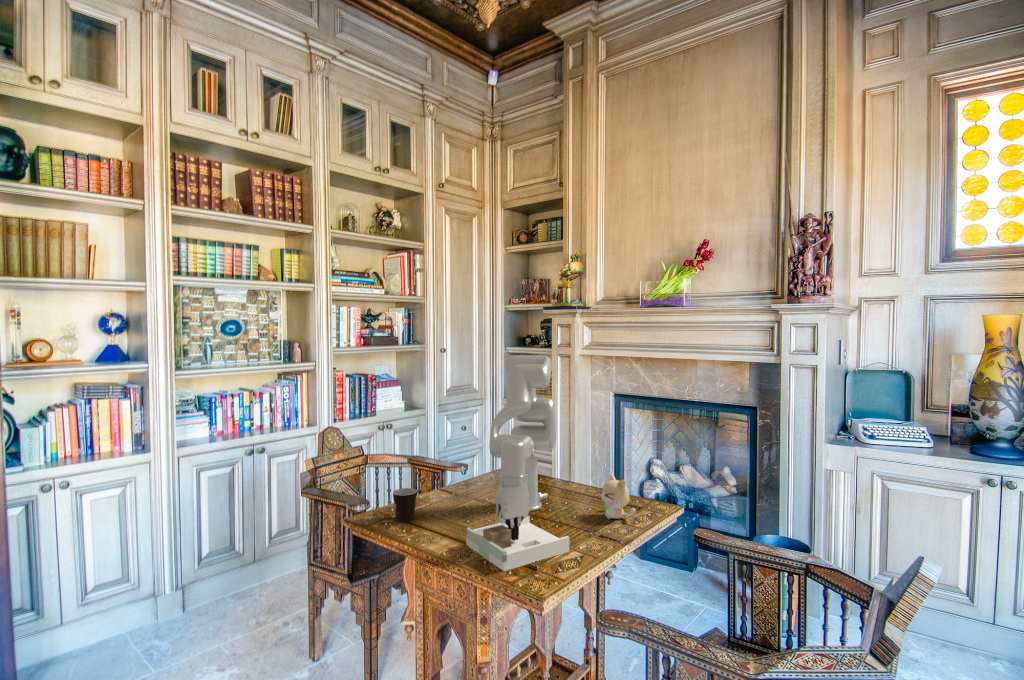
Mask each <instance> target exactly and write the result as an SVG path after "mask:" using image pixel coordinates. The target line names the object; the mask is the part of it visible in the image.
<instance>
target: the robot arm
mask: <svg viewBox="0 0 1024 680" xmlns="http://www.w3.org/2000/svg"><path fill="white" fill-rule="evenodd" d="M552 366H553V365H552V359H551V358H550V357H549V356H548V355H542V354H541V355H539V354H538V355H536V354H535V355H534V354H533V355H530V354H529V355H526V354H524V355H523V354H519V355H518V354H517V355H516V354H515V355H509V356H508V357H506V358H505V360H504V368H505V371H506V373H507V384H506V386H507V387H506V400H505V402H506V403H505V406H504V407H502V409H500V411H498V413H497V414H496V415H495V417H494V419H493V420H492V423H491V427H490V432H489V433H490V434H489V435H490V436H489V453H490V455H491V456H492V457H494V458H498V459H500V474H501V475H500V479H501V480H500V481H501V482H500V484H498V487H497V493H496V501H495V502H496V503H495V515H496V516H497V517H498V518H497V522H498V523H505V524H506V525H507V526H508V528H509V529H510V530H511V539H512V540H513V541H515V540H518V535H519V526H520V525H521V522H522V520H523V519H525V518H526V517H529V513H530V512H531V511H532V512H533V511H536V510H540V509H541V508H542V506H543V504H542V503H543V502H541V500H544V499H547V498H548V497H549V495H548V493H546V492H544V493H541V492H538V491H539V488H538V485H539V484H538V477H539V476H538V475H539V474H538V472H539V471H538V469H539V468H538V459H537V457H536V455H535V454H534V451H551V450H553V449H554V448H555V447H556V444H557V426H556V425H557V421H556V420H557V419H556V418H557V415H556V414H557V413H556V405H555V402H554V400H553V399H552V398H550V397H542V396H541V397H538V396H537V394H536V392H537V391H536V389H547V388H548V387H549V385H550V382H551V378H552V377H551V376H552V369H553V367H552ZM514 418H515V420H517V421H518V422H522V423H542V424H517V425H515V426H513V427H512V429H511V431H510V434H503V433H502V434H501V433H500V432H501V431H500V430H501V428H502V427H503V426H504V424H505V423H507V422H509V421H510V420H512V419H514Z"/></svg>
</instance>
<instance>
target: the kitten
mask: <svg viewBox="0 0 1024 680" xmlns="http://www.w3.org/2000/svg"><path fill="white" fill-rule="evenodd" d="M600 497H601V500H602V502H603V512H604V511H605V514H604V516H605V518H607V519H608V520H610V519H613V520H615V519H618V520H619V519H622V518H628V517H631V516H633V515H634V514H636V508H634V507H631V508H630V510H629V511H628V512H625V511H624V509H623V508H624V507H626V506H627V504H629V502H630V492H629V488H628V487H627V485H626V480H625V479H622V480H619V479H616V477H615V475H614V473H613V472H611V473H610V475H609V480H608V481H606V482H605V483H604V484H603V486H602V487H601V490H600Z"/></svg>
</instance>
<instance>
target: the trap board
mask: <svg viewBox="0 0 1024 680" xmlns="http://www.w3.org/2000/svg"><path fill="white" fill-rule="evenodd" d="M530 521H531V519H530V516H528V517H526V518H525V519H523V520H522V522H521V525H520V526H519V535H518V540H515V541H513V540H512V539H511V547H507V548H503V549H502V548H501V547H499V546H498V545H496V544H494V543H493V542H491V541H490V540H488V539H487V538H485V537H483V530H484V529H488V528H492V527H496V526H500V525H503V526H505V527H507V528H508V526H507V525H506V524H505V523H499V522H498V523H495V524H490V525H487V526H482V527H479V528H474V529H473V528H471V527H466V529H465V530H466V532H465V534H466V537H465V539H466V546H467V547H468V546H469V547H468V548H470V549H471V550H472V549H473V551H474V552H475V551H476V552H475V553H477V552H478V553H479V554H478V553H477V554H478V555H480V556H481V557H482V556H483V557H482V558H483V559H485V560H486V561H488V562H490V563H491V564H492V563H493V565H494V566H496V567H497V568H498V569H500V570H501V571H503V572H506V571H510V570H514V569H517V568H520V567H524V566H526V565H529V564H532V562H533V563H536V562H535V561H537V562H540V561H543V560H546V559H550V558H553V557H555V556H559V555H563V554H566V553H569V552H570V536H568V535H566V536H562V537H558V536H556V535H554V534H552V533H550V532H548V531H546V530H544V529H542V528H540V527H538V526H537V525H535V524H532V523H531V522H530ZM542 559H543V560H542ZM539 560H540V561H539Z"/></svg>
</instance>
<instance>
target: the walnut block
mask: <svg viewBox="0 0 1024 680" xmlns="http://www.w3.org/2000/svg"><path fill="white" fill-rule="evenodd" d="M483 537H485V538H487V539H488V540H490V541H491V542H493V543H494V544H496V545H498V546H499V547H501V548H502V549H503V548H507V547H511V530H510V529H509V528H507V527H505V526H503V525H500V526H496V527H492V528H488V529H484V530H483Z"/></svg>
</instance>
